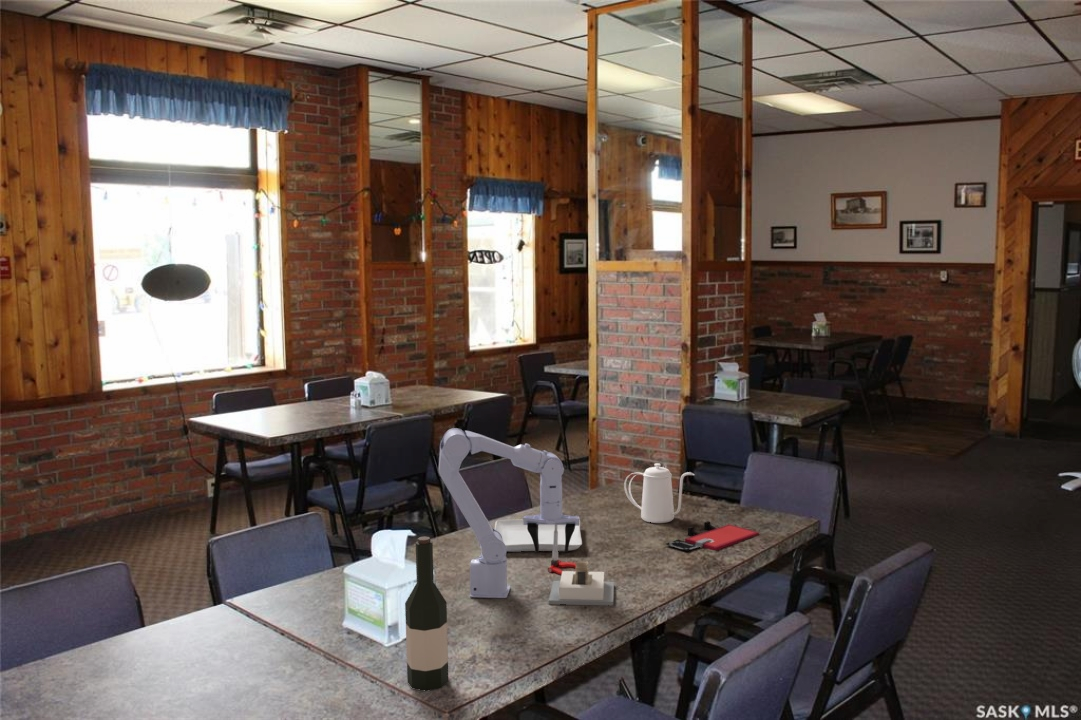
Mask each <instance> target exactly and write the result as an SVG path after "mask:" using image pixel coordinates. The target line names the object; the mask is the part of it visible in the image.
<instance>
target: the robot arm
mask: <svg viewBox="0 0 1081 720" xmlns="http://www.w3.org/2000/svg"><path fill="white" fill-rule="evenodd" d="M480 452H484V453H488V454H492V455H496V456H498V457H502V458H506V459H509V460H510V461H511V464H512V465H513V466H514V467H517V468H520V469H523V470H527V471H529V472H532V473H535V474H536V473H537V474H538V473H540V475H539V477H540V483H539V501H540V502H539V507H540V511H539V513H540V514H536V515H535V514H534V515H524V516H523V518H522V519H523V525H528V527H527V529H528V532H529V534H530V536H531V538H532V540H533V543H534V546H535V552H534V553H537V554H538V553H539V552H538V551H539V541H538V524H544V525H566V526H565V551H564V554H568V553H569V551H568V547H569V542H570V539H571V536H572V534H573V532H574V530H575V526H579V524H580V525H581V520H580V516H579V515H577V516H574V515H568V514H566V515H565V514H563V483H562V476H563V474H564V472H565V467H564V464H563V462H562V461H561V459H560V458H559V457H558V456H557V455H556V454H555V453H553V452H551V451H547V450H546V449H544V450H539V449H536V448H533V447H531V445H530V444H529V443H524V444H521V443H520V444H518V445H516V446H512V445H509V444H507V443H504V442H501V441H499V440H496V439H494V438H491V437H488V436H486V435H483V434H480V433H476V432H473V431H470V430H462V429H461V428H457V427H455V428H454V427H453V428H450V429H448V430H447V431H446V432H445V433H444V434H443V437H442V439H441V441H440V444H439V457H438V474H439V477H440V478H441V480H442V481H443V483H444V485H445V487H446V488H447V490H448V491H449V494H450V495H451V496H452V498H453V500H454V501H455V503H456V505H457V507H458V508H459V511H460V512H461V514H462V515H463V517H464V518H465V520H466V521H467V523H468V525H469V526H470V528H471V530H472V532H473V533H474V535H475V538H476V539H477V541H478V546H479V547H480V551H481V553H480V554H479V556H478V558H472V559H470V566H469V589H470V590H469V591H470V592H469V597H470V598H479V599H480V598H484V599H486V598H488V599H506V598H508V595H509V592H510V590H511V585H510V584H509V585H508V568H507V567H508V563H507V560H508V558H507V556H506V555H507V549H506V545H505V544H504V542H503V539H502V536H501V534H500V533H499V532H498V531H497V530H495V529H494V528H495V527H493V526H492V525H491V523H490V522H489V520H488V518H487V516H486V515H485V513H484V511H483V510H482V508H481V506H480V505H479V503H478V501H477V500H476V498H475V496H474V495H473V493H472V492H471V490H470V488H469V486H468V485H467V483H466V482H465V480H464V478H463V477H462V475H461V473H460V471H459V470H460V467H461V465H462V462H463V460H464V459H465V458H466V457H467V456H468V454H469V453H471V455H474V454H478V453H480Z"/></svg>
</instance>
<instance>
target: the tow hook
mask: <svg viewBox="0 0 1081 720" xmlns="http://www.w3.org/2000/svg"><path fill="white" fill-rule="evenodd" d="M557 548H558V531H557V525H555V531H554V540H553V551H552V553H551V554H552V555H551V560H550V566H549V567H548V568H547V572H548V573H550V572H551V573H552V572H553V573H556V574H558V575H560V576H561V575H562V571H564V570H562V569H560V568H567V567H568V568H575V569H576V562H562V561H561V560H560V559H559V552H558V551H557Z"/></svg>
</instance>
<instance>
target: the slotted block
mask: <svg viewBox="0 0 1081 720" xmlns="http://www.w3.org/2000/svg"><path fill="white" fill-rule="evenodd" d="M614 585H615V582H614V581H605V571H588V585H576V570H574V571H573V570H571V571H570V570H567V571H566V570H563V571H562V575H560V580H552V585H551V589H550V594H549V597H548V605H560V604H566V605H565V606H567V605H568V606H569V605H570V606H571V605H573V606H608V605H609V606H611V607H612V606H614V596H615V595H614V592H615V590H614V589H615V586H614ZM609 606H608V607H609Z"/></svg>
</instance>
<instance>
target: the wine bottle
mask: <svg viewBox="0 0 1081 720" xmlns="http://www.w3.org/2000/svg"><path fill="white" fill-rule="evenodd" d="M433 547H434V545H433V541H432V540H431V537H429V536H420V537H418V538H417V541H416V542H415V565H416V566H415V571H416V584H415V585H414V587H413V589H412V590H411V592H410V594H409V595H408V597H407V599H406V601H405V603H404V610H405V614H404V615H405V637H406V638H405V639H406V640H405V641H406V642H405V644H406V646H405V648H406V671H407V673H406V674H407V684H408V683H409V684H410V685H409V684H408V685H409V687H410V686H411V687H412V688H415V689H414V690H416V689H420V690H419V691H421V690H425V691H424V692H429V691H428V690H430V691H434V690H438V689H442V688H443V687H444V686H445V685H446V684H448V683H449V649H448V648H449V645H448V644H449V643H448V642H449V640H448V613H447V612H448V608H447V607H448V606H447V605H448V604H447V601H446V599H445V597H444V595H443V594H442V593H441V591H440V589H439V588H438V587H437V585H436V583H435V581H434V580H435V579H434V576H435V575H434V549H433ZM411 687H410V688H411ZM412 688H411V689H412Z"/></svg>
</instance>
